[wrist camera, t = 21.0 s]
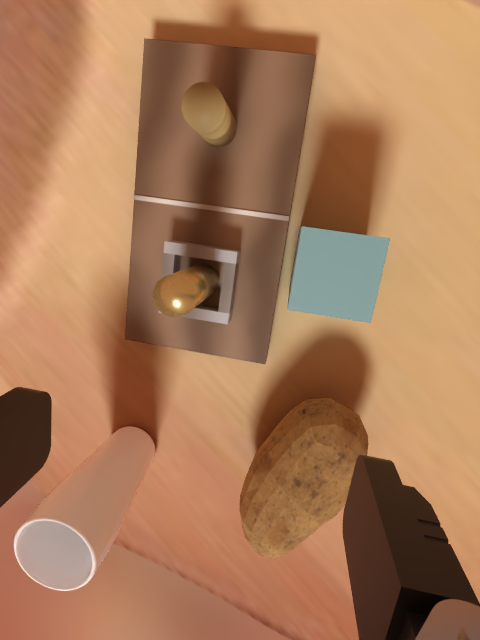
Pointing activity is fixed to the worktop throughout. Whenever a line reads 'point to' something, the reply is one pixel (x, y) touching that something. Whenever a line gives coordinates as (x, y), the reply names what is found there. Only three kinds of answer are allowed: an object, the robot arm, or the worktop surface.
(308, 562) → the worktop surface
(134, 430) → the drinking glass
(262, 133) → the board
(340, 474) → the potato
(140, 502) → the worktop surface
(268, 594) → the worktop surface
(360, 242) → the block
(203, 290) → the pin
